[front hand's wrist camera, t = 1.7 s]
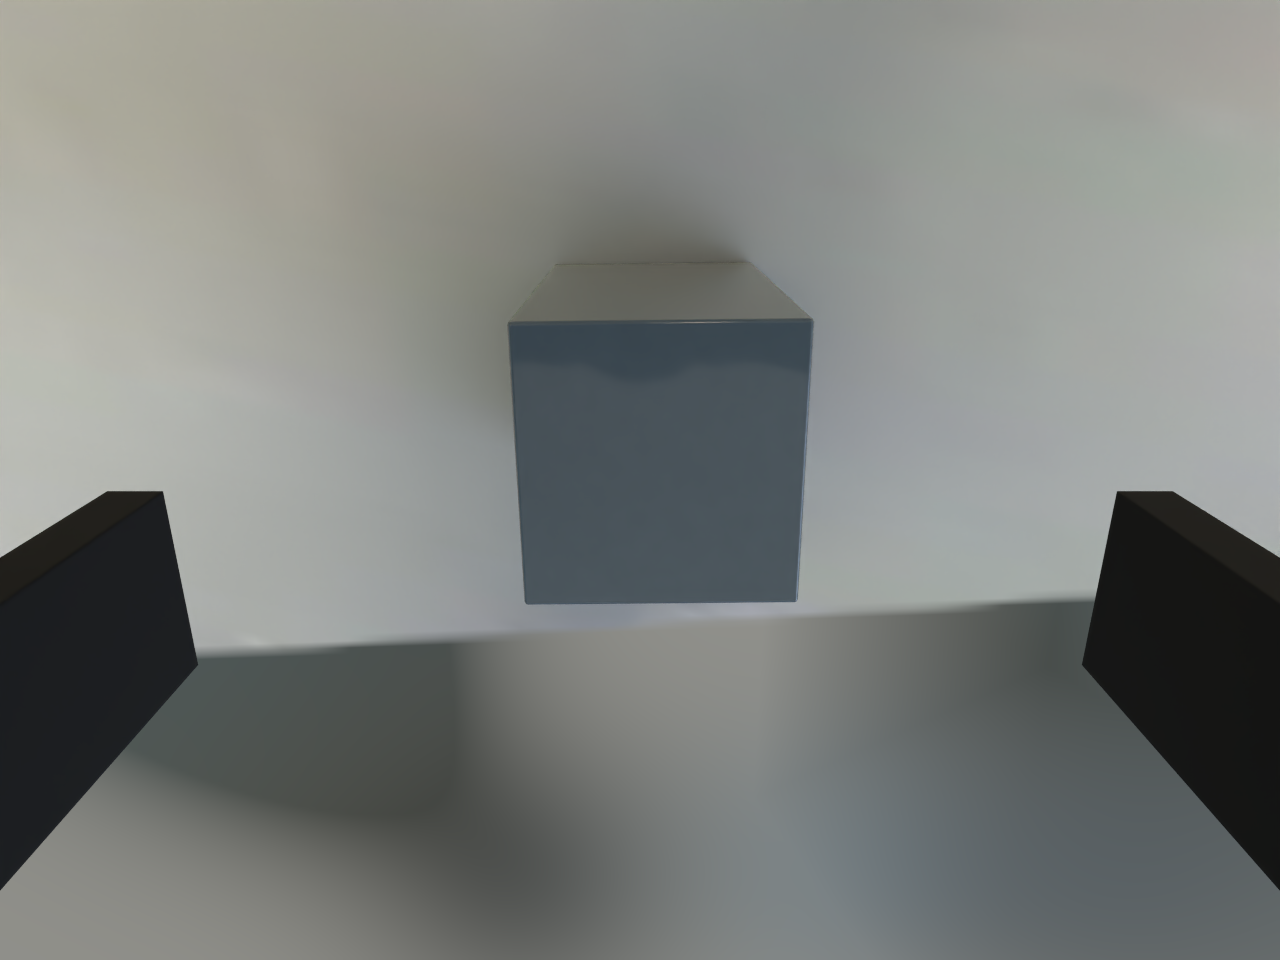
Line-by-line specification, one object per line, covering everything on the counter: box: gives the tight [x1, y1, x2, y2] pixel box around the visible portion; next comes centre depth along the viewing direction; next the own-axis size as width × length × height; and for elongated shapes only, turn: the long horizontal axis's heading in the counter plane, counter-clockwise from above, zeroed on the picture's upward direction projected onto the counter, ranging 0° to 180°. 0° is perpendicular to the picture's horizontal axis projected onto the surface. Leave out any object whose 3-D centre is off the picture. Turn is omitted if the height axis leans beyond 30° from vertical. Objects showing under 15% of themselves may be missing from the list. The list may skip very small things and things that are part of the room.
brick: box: [507, 262, 814, 604], centre depth 21 cm, size 6×6×9 cm
